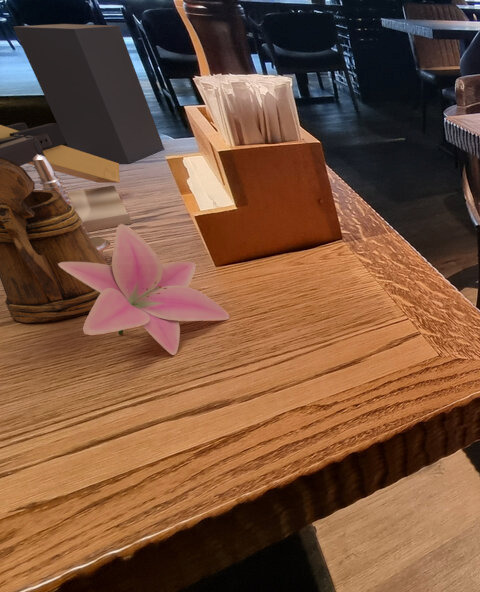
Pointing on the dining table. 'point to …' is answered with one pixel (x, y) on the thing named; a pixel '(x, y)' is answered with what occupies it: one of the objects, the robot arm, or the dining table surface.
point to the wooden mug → (41, 251)
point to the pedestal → (92, 89)
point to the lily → (143, 292)
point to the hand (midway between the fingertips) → (42, 133)
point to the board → (99, 208)
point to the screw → (61, 192)
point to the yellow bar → (76, 162)
